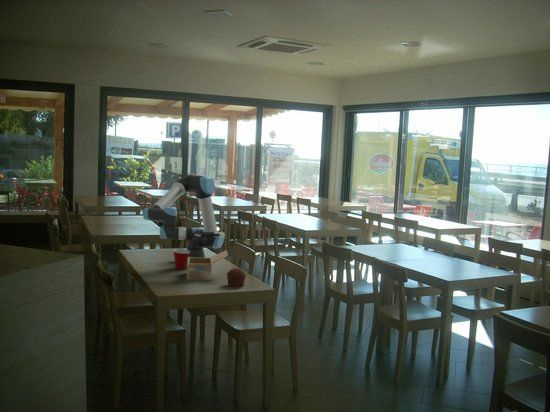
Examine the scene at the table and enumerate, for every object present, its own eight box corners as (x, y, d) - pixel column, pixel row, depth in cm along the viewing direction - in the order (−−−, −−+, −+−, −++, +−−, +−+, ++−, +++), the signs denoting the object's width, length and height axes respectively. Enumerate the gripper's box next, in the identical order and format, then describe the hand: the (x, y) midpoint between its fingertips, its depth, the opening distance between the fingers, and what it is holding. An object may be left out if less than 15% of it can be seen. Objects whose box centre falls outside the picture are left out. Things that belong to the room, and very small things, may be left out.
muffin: (246, 288, 330) (247, 271, 329) (227, 288, 328) (228, 270, 327) (243, 283, 342) (244, 266, 341) (225, 283, 339) (225, 266, 339)
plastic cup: (185, 270, 367) (186, 252, 366) (169, 269, 369) (170, 250, 368) (191, 267, 378) (192, 249, 377) (176, 266, 380) (176, 248, 379)
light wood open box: (187, 272, 363) (188, 256, 362) (210, 273, 365) (211, 257, 364) (186, 280, 342) (187, 263, 341) (211, 280, 344) (211, 264, 343)
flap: (211, 257, 363) (226, 250, 363) (211, 257, 363) (226, 250, 363) (211, 263, 344) (227, 255, 345) (212, 263, 344) (228, 256, 345)
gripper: (185, 238, 355) (223, 239, 359) (185, 241, 343) (225, 242, 346) (186, 226, 355) (224, 227, 358) (186, 228, 342) (225, 230, 345)
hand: (224, 235), depth 352 cm, fingers closed
